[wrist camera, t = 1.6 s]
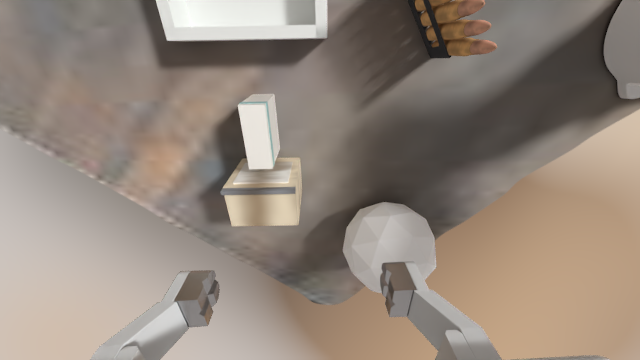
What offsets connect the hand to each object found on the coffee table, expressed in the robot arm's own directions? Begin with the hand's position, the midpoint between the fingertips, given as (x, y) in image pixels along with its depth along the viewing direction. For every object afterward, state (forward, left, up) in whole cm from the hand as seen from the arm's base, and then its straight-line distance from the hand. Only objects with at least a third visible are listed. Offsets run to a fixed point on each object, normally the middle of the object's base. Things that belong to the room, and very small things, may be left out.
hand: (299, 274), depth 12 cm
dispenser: (+6, +8, -27) cm, 29 cm away
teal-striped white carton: (+6, 0, -27) cm, 28 cm away
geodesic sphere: (-12, +18, -27) cm, 34 cm away
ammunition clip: (-14, -13, -27) cm, 33 cm away
